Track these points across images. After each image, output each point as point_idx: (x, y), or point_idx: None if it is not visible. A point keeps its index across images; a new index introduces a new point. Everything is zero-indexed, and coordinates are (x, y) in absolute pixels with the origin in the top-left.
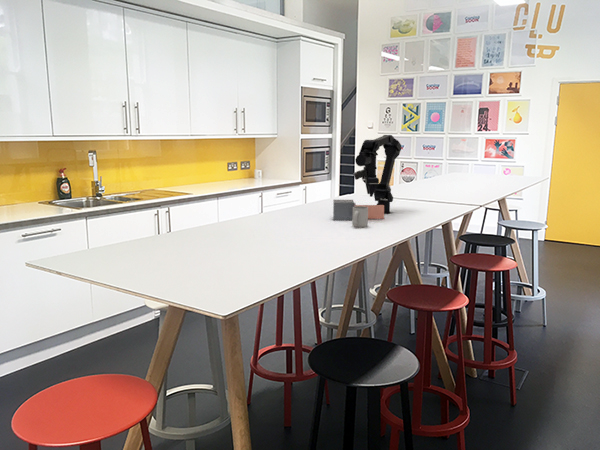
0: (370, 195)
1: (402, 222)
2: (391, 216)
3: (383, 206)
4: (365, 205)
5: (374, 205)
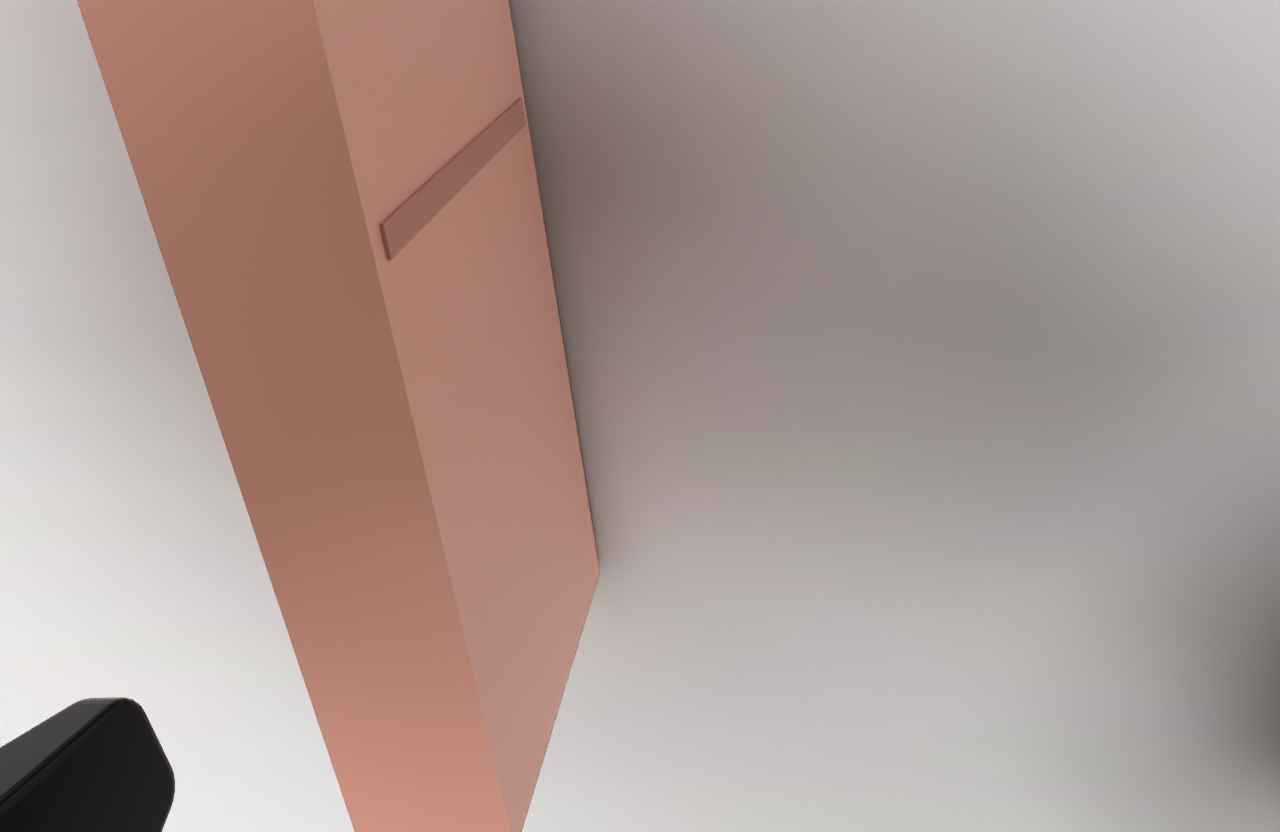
0: (26, 762)
1: (224, 829)
2: (873, 753)
3: (360, 807)
4: (240, 230)
5: (351, 579)
